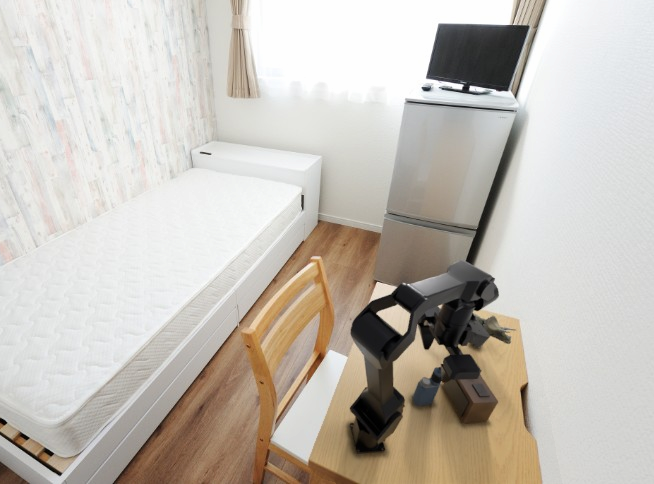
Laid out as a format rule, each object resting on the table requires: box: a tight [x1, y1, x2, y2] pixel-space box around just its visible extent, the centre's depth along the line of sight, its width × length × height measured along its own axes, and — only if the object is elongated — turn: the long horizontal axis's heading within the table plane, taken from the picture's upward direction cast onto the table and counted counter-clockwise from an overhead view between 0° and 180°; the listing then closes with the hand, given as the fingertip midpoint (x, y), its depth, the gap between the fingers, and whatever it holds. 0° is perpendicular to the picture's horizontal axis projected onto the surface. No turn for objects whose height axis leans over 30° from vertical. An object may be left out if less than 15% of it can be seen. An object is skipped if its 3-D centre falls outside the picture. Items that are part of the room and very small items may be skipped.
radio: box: [442, 374, 499, 424], centre depth 84 cm, size 6×10×9 cm, turn 4°
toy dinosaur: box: [471, 312, 517, 350], centre depth 103 cm, size 22×8×11 cm, turn 62°
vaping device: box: [412, 366, 442, 407], centre depth 83 cm, size 3×5×12 cm, turn 99°
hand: (434, 364), depth 81 cm, fingers open, 9 cm apart
